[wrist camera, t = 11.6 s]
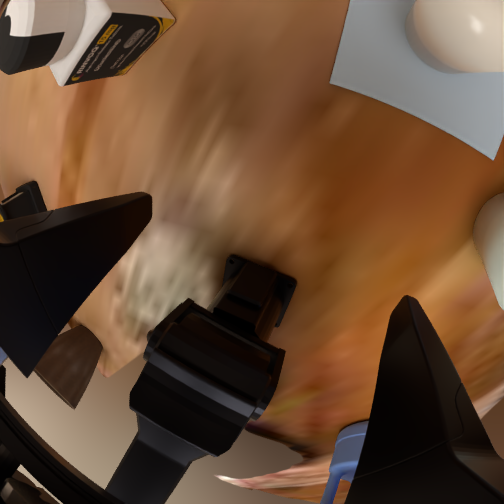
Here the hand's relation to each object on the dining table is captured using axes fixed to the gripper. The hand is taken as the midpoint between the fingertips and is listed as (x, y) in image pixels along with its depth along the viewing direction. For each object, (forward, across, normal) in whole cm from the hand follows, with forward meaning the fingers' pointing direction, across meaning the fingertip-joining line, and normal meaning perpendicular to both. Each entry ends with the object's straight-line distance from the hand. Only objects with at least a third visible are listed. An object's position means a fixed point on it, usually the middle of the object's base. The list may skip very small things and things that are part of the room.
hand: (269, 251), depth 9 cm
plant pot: (+12, +35, +50) cm, 62 cm away
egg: (+12, -5, -11) cm, 17 cm away
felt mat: (+12, -5, -11) cm, 17 cm away
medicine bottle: (+12, +18, -8) cm, 23 cm away
